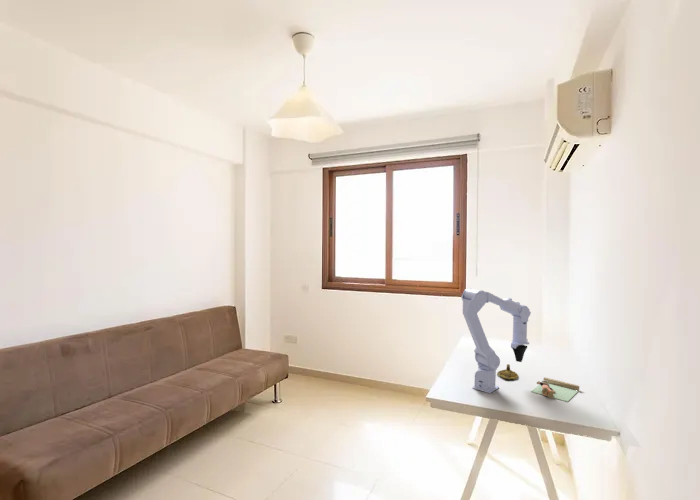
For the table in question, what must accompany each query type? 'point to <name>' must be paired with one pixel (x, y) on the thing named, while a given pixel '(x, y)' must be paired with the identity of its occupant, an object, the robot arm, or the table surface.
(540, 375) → the table surface
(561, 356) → the table surface
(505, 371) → the seal
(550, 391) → the grandmother figurine
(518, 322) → the robot arm
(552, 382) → the beech stop strip
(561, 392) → the felt mat
